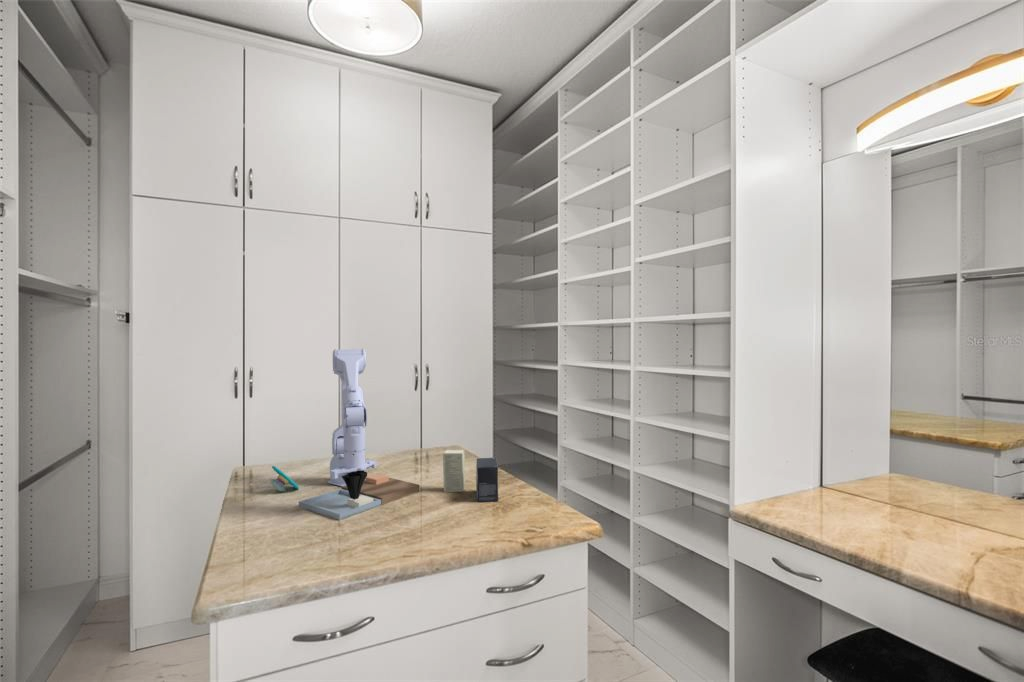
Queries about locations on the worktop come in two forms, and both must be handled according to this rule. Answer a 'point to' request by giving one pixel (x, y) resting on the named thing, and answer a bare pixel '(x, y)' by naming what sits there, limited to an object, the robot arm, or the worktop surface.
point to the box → (336, 504)
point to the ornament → (282, 481)
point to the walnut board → (388, 490)
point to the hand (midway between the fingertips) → (354, 498)
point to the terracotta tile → (377, 479)
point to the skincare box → (454, 470)
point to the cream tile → (359, 501)
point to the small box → (487, 480)
